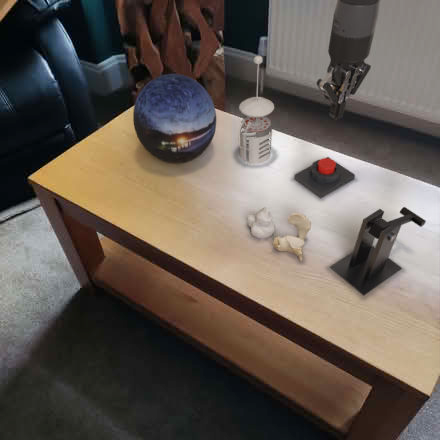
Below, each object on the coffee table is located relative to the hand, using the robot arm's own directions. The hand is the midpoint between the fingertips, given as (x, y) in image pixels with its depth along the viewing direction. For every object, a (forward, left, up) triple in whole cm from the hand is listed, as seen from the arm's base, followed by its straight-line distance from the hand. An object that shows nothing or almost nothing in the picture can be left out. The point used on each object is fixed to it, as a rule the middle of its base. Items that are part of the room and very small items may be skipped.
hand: (336, 117), depth 90 cm
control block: (0, 0, -17) cm, 17 cm away
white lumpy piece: (+21, +10, -17) cm, 29 cm away
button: (0, 0, -13) cm, 13 cm away
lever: (+2, +27, -8) cm, 28 cm away
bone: (+17, +18, -17) cm, 30 cm away
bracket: (+6, +28, -17) cm, 33 cm away
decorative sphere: (+29, -24, -17) cm, 41 cm away
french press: (+12, -15, -17) cm, 26 cm away
